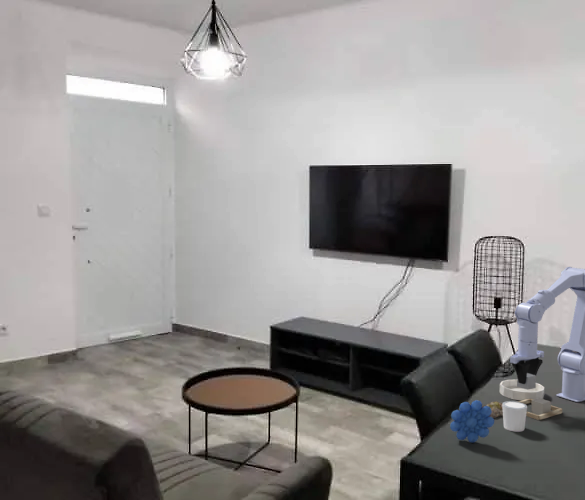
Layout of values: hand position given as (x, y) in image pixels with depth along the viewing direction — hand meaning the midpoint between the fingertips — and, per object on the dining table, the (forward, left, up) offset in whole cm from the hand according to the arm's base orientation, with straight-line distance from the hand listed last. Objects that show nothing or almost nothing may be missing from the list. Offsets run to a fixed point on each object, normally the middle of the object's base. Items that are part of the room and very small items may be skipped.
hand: (526, 382), depth 190 cm
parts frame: (0, +3, -8) cm, 9 cm away
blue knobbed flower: (+36, +9, -9) cm, 38 cm away
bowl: (-10, -9, -8) cm, 16 cm away
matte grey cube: (0, 0, -2) cm, 2 cm away
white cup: (+18, +9, -9) cm, 22 cm away
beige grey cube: (0, +6, -8) cm, 10 cm away
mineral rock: (+13, -3, -9) cm, 16 cm away
